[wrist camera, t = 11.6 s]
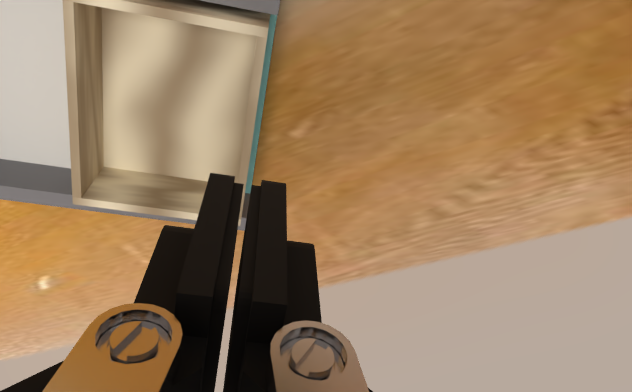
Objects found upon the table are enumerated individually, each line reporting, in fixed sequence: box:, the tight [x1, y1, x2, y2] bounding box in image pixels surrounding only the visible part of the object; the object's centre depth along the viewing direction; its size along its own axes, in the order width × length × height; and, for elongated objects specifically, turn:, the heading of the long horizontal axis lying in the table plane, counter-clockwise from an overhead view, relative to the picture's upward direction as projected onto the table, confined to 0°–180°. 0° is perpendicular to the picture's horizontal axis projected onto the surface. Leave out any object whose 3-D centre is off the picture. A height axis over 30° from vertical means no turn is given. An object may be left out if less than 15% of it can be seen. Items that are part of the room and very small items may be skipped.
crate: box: [63, 0, 270, 226], centre depth 35 cm, size 12×15×6 cm
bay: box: [0, 0, 280, 231], centre depth 36 cm, size 23×18×5 cm
